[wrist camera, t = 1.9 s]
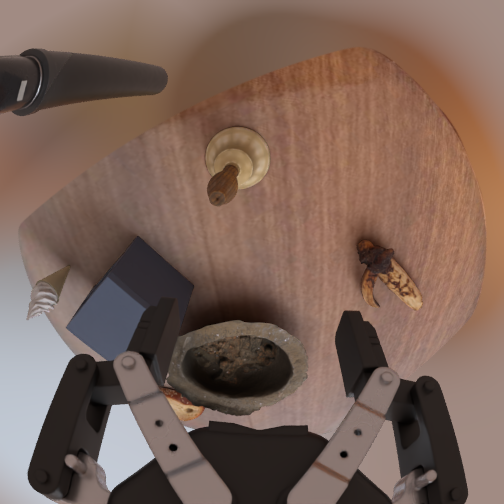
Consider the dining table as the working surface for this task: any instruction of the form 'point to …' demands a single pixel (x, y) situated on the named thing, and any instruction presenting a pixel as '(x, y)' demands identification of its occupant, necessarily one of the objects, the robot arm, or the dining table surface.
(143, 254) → the shelf
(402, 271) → the lashed bone hook
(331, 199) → the dining table surface
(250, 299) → the dining table surface
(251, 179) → the hand bell
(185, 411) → the bread slice
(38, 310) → the ice cream cone
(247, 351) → the stone bowl
